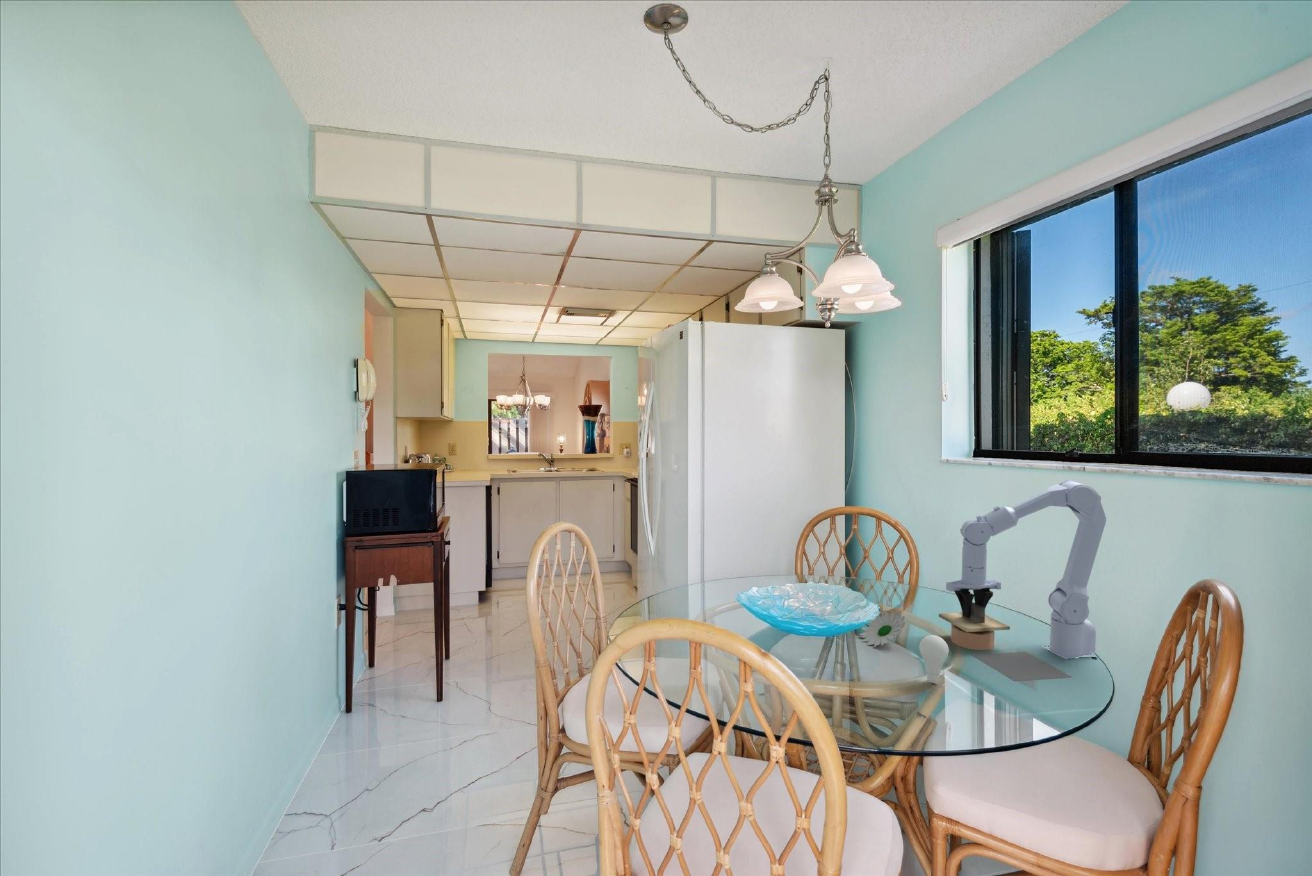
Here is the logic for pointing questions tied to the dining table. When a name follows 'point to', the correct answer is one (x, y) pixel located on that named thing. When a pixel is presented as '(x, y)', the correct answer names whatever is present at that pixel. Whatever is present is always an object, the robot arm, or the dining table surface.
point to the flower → (883, 628)
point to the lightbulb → (933, 656)
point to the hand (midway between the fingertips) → (972, 616)
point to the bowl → (972, 638)
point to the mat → (1021, 666)
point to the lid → (974, 620)
